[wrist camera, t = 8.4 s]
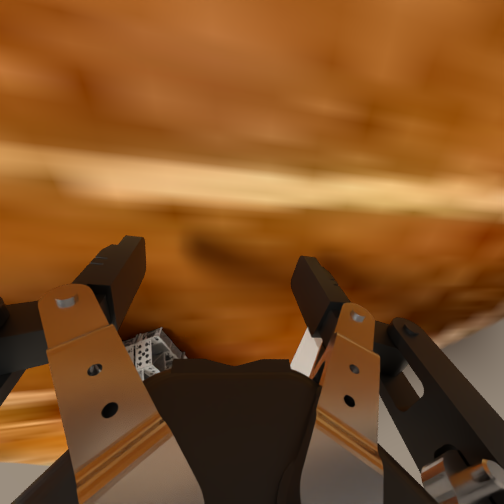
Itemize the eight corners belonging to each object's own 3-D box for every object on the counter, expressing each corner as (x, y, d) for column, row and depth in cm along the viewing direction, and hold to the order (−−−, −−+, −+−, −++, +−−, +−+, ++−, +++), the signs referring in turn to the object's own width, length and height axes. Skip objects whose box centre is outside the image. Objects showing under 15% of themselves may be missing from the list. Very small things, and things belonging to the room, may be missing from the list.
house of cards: (49, 342, 17) (-62, 485, 10) (151, 306, 16) (103, 433, 10) (123, 395, 21) (80, 515, 15) (205, 368, 21) (197, 482, 14)
